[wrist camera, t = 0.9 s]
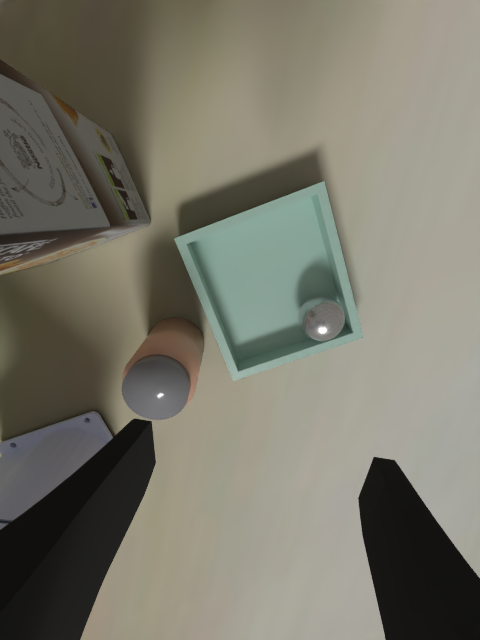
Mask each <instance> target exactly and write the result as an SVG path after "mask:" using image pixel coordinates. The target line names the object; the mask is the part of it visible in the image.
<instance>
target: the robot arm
mask: <svg viewBox="0 0 480 640" xmlns="http://www.w3.org/2000/svg"><path fill="white" fill-rule="evenodd" d="M86 418H89V419H90V420H87V419H86ZM14 443H15V444H14ZM0 453H1V454H2V456H1V457H0V640H80V638H81V636H82V633H83V630H84V628H85V625H86V623H87V620H88V618H89V615H90V613H91V610H92V607H93V605H94V602H95V600H96V597H97V595H98V592H99V590H100V587H101V585H102V583H103V580H104V578H105V576H106V574H107V571H108V569H109V567H110V565H111V563H112V561H113V559H114V557H115V555H116V553H117V551H118V549H119V546H120V544H121V542H122V540H123V538H124V536H125V534H126V532H127V530H128V528H129V526H130V524H131V522H132V520H133V517H134V515H135V513H136V511H137V509H138V507H139V505H140V503H141V501H142V498H143V496H144V494H145V491H146V489H147V486H148V483H149V481H150V478H151V475H152V472H153V469H154V466H155V463H156V461H155V451H154V441H153V431H152V421H146V420H140V419H133V420H132V421H130V422H129V423H128V424H127V425H126V426H125V427H124V428H123V429H122V430H121V431H120V432H119V433H118V434H117V435H115V436H114V437H113V436H112V434H111V433H110V431H109V429H108V428H107V426H106V424H105V423H104V421H103V419H102V418H101V416H100V414H99V413H97V412H95V411H91V412H88V413H85V414H82V415H79V416H77V417H74V418H71V419H68V420H65V421H62V422H59V423H56V424H53V425H50V426H47V427H44V428H41V429H38V430H35V431H32V432H29V433H26V434H23V435H20V436H17V437H14V438H11V439H9V440H6V441H3V442H1V443H0ZM358 499H359V509H360V518H361V526H362V534H363V539H364V544H365V548H366V553H367V557H368V562H369V566H370V571H371V575H372V580H373V584H374V588H375V593H376V597H377V602H378V606H379V611H380V615H381V619H382V624H383V628H384V633H385V638H386V640H480V578H479V577H478V576H477V574H476V573H475V572H474V571H473V569H472V568H471V567H470V565H469V564H468V563H467V562H466V560H465V559H464V558H463V556H462V555H461V554H460V552H459V551H458V550H457V548H456V547H455V546H454V544H453V543H452V541H451V540H450V539H449V537H448V536H447V535H446V533H445V532H444V531H443V529H442V528H441V526H440V525H439V524H438V522H437V521H436V519H435V518H434V517H433V515H432V514H431V512H430V511H429V510H428V508H427V507H426V505H425V504H424V502H423V501H422V499H421V498H420V497H419V495H418V494H417V492H416V491H415V489H414V488H413V486H412V485H411V483H410V482H409V480H408V479H407V477H406V476H405V474H404V473H403V471H402V470H401V469H400V467H399V466H398V464H397V463H396V461H395V460H390V459H383V458H377V457H374V458H373V461H372V464H371V466H370V469H369V472H368V474H367V477H366V479H365V482H364V485H363V487H362V490H361V493H360V495H359V498H358Z"/></svg>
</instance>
